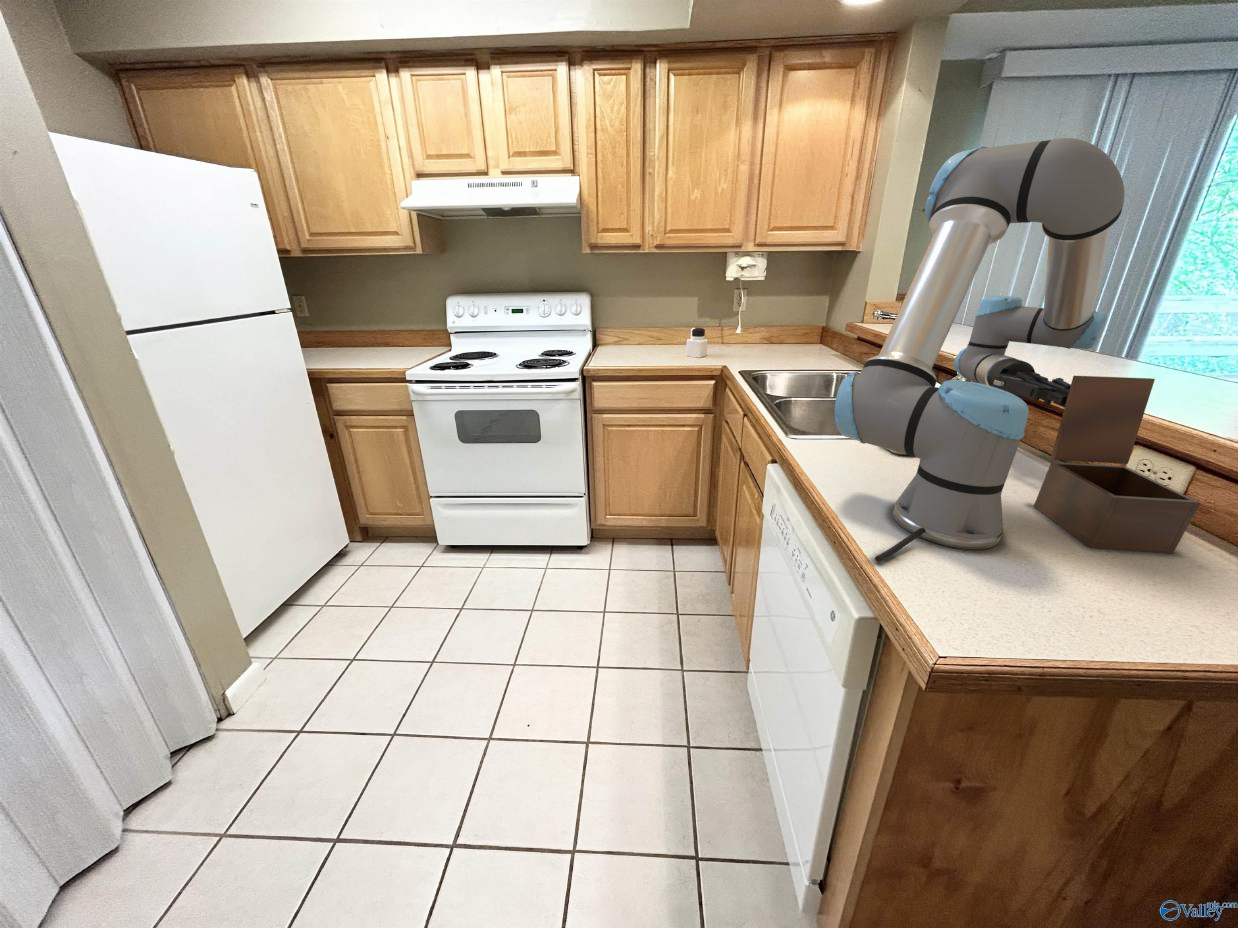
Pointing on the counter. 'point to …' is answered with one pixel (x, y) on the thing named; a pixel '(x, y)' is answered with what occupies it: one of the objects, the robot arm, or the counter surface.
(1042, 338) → the robot arm
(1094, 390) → the lid
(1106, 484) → the chest
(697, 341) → the medicine bottle
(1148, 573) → the counter surface
